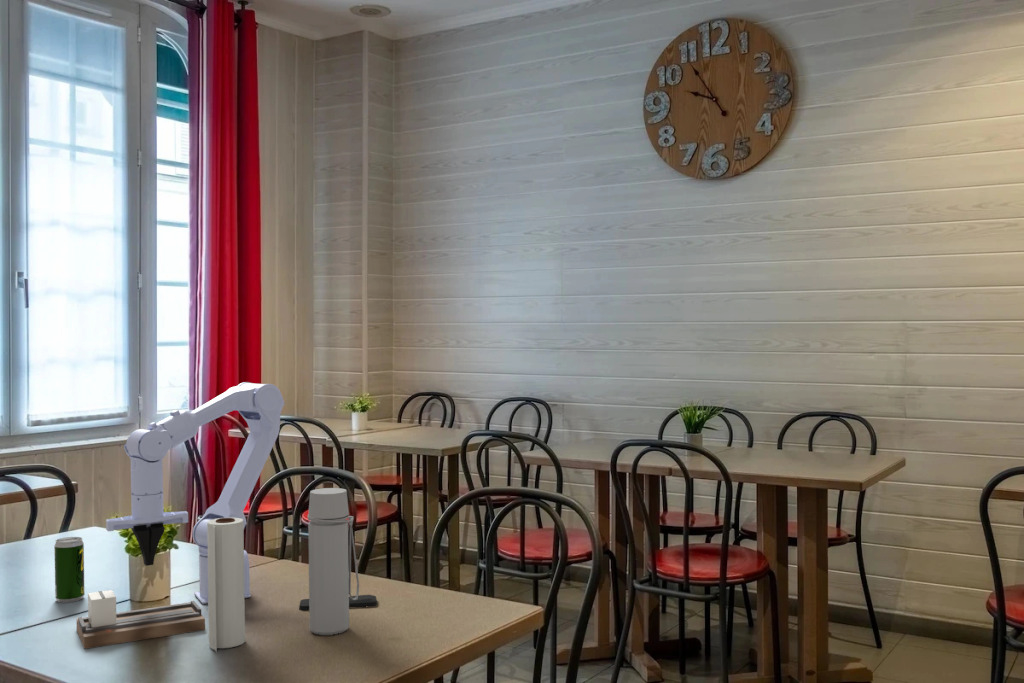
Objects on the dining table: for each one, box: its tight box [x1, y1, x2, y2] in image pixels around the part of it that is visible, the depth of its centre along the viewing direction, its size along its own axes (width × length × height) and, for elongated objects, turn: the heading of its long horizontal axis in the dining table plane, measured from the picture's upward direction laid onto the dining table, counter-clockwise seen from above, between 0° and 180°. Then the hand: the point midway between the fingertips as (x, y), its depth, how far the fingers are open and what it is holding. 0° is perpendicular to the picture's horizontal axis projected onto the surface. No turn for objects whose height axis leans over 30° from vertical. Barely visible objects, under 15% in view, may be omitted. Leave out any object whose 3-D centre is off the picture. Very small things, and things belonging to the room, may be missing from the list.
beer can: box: [53, 536, 85, 604], centre depth 196 cm, size 5×5×12 cm
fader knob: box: [87, 589, 117, 628], centre depth 173 cm, size 4×5×5 cm
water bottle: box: [306, 487, 360, 636], centre depth 175 cm, size 9×8×25 cm
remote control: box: [298, 594, 378, 611], centre depth 191 cm, size 5×2×15 cm
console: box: [75, 600, 206, 650], centre depth 176 cm, size 20×12×3 cm, turn 120°
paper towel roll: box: [207, 518, 246, 653], centre depth 168 cm, size 7×6×21 cm
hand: (148, 564), depth 186 cm, fingers closed
